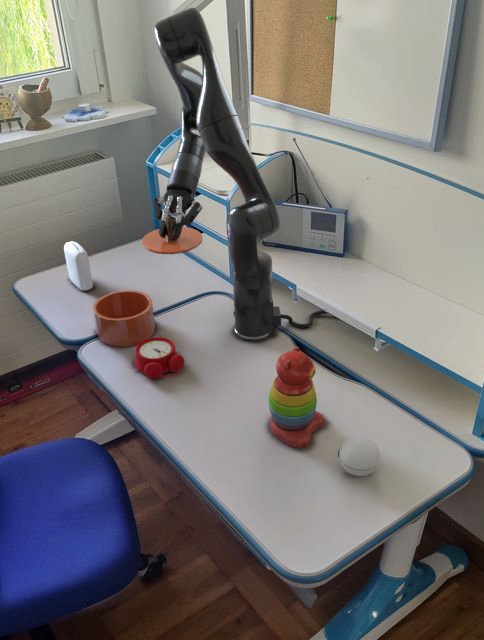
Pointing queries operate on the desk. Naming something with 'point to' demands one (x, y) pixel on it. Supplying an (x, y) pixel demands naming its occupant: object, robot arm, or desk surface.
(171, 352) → the alarm clock
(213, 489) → the desk surface
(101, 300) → the orange cylindrical pot
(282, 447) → the desk surface
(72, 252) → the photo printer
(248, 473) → the desk surface
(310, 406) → the stacking bear
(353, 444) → the seamed sphere
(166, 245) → the lid
